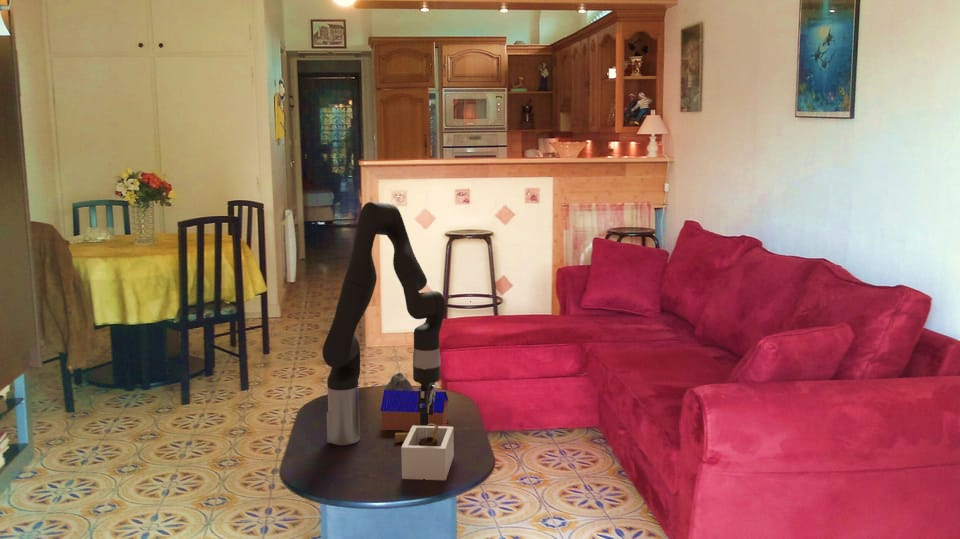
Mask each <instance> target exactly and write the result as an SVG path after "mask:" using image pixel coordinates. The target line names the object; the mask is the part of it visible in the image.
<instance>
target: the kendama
mask: <svg viewBox="0 0 960 539" xmlns="http://www.w3.org/2000/svg"><path fill="white" fill-rule="evenodd" d="M427 426H436V425H435V424H428V425H427ZM440 426H446V427H452V426H451V425H449V424H448V423H446V424H442V425H440ZM408 433H409V432H395V433H394V440H395V444H396V443H397V444H398V443H404V441H405V439H406V437H407V435H408Z"/></svg>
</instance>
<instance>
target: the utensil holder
mask: <svg viewBox="0 0 960 539" xmlns="http://www.w3.org/2000/svg"><path fill="white" fill-rule="evenodd" d="M421 426H422V425H421ZM422 427H423V426H422ZM435 428H436V429H437V430H436V429H435ZM435 428H434V432H433V436H434V437H428V436H427V432H426V436H427V437H425V436H424V438H421V439H420V440H419V446H438V445H437V439H436V438H435V436H436V435H437V431H438V425H436V426H435ZM420 430H421V428H420ZM423 431H424V430H423ZM426 431H428V430H426ZM420 432H421V431H420ZM420 432H419V433H420ZM423 433H424V432H423ZM421 436H422V435H421Z"/></svg>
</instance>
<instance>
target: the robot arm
mask: <svg viewBox="0 0 960 539" xmlns="http://www.w3.org/2000/svg"><path fill="white" fill-rule="evenodd" d="M376 235H379V236H380V235H381V236H387V238H388V239H389V240H390V242H391V245H392V246H393V258H392V266H393V270H394V273H395V275H396V277H397V279H398V281H399V282H400V285H401V287H402V290H403V294H404V298H405V300H404V301H405V305H406V310H407V313H408V315H409V316H410V317H412V318H413V319H415V320H424V319H426V320H424V321H425V322H424V323H422V324H420V325H418V326H417V327H415V328H414V330H413V353H412V379H413V381H414V382H415V383H419V384H420V387H418V390H417V391H418V412H420V425H422V426H427V425H428V424H429V418H428V415H433V413H434V408H433V402H434V400H435V399H434V397H435V396H436V395H435V391H436V383H438V382H439V381H440V380H441V352H440V331H441V328H442V325H443V321H444V318H445V314H446V309H447V308H446V300H445V297H444V295H443V294H442V293H441V292H440V291H436V290H432V291H425V292H420V291H421V290H423V289H424V288H425V287H426V286H427V284H428V278H427V276H426V274H425V272H424V271H423V269H422V267H421V265H420V263H419V262H418V260H417V257H416V255H415V253H414V251H413V248H412V244H411V241H410V238H409V235H408V231H407V229H406V225H405V223H404V219H403V216H402V214H401V211H400V209H398V207H397V206H396V205H394V204H391V203H387V202H386V203H385V202H379V201H378V202H377V201H367V202H366V203H365V204H364V205H363V207H362V208H361V210H360V212H359V215H358V219H357V225H356V230H355V235H354V236H355V237H354V242H353V246H352V251H351V254H350V258H349V262H348V266H347V270H346V272H345V276H344V279H343V282H342V286H341V289H340V294H339V298H338V301H337V303H336V304H337V305H336V309H335V313H334V318H333V321H332V324H331V326H330V328H329V331H328V333H327V336H326V338H325V341H324V343H323V346H322V350H321V351H322V358H323V361H324V363H325V364H326V365H328V367H330V372H329V375H328V377H327V379H326V380H327V381H326V384H327V405H328V406H327V408H328V409H327V410H328V411H326V435H327V436H326V437H327V438H326V439H327V444H333V445H337V446H348V445H354V444H356V443H358V442H359V441H360V439H361V431H360V430H361V429H360V427H361V426H360V402H359V401H360V400H359V397H360V396H359V378H360V374H361V346H360V342H359V340H358V338H357V337H356V336H355V332H356V329H357V327H358V325H359V323H360V321H361V319H362V318H363V316H364V314H365V312H366V311H367V309H368V307H369V304H370V302H371V300H372V298H373V294H374V290H375V287H376V286H377V278H378V277H377V271H376V270H377V269H376V266H375V262H374V258H373V246H374V241H375V238H376ZM422 405H425V408H422Z"/></svg>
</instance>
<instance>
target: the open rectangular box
mask: <svg viewBox="0 0 960 539" xmlns="http://www.w3.org/2000/svg"><path fill="white" fill-rule="evenodd" d="M420 428H421V430H420ZM434 428H435V426H423V427H422V426H412V427H411V429H410V431H408V432H407V433H408V435H407V437H406V439H405V441H404V442H402V445H401V451H400V452H401V479H402V480H423V479H425V480H429V481H447V477H448V475H449V471H450V468H451V466H452V463H453V460H454V456H455V451H454V450H455V449H454V448H455V447H454V443H455V441H454V438H455V431H454V426H451V427H446V426H438V431H437V435H436V436H435V438H436V439H437V445H438V446H419V440H420V439H421V438H424V436H425V437H427V436H428V437H434V436H433V432H434ZM435 429H436V428H435ZM423 430H424V431H423ZM426 430H428V431H426ZM436 430H437V429H436ZM420 431H421V432H420ZM419 432H420V433H419ZM423 432H424V433H423ZM426 432H427V436H426ZM421 435H422V436H421Z"/></svg>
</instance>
